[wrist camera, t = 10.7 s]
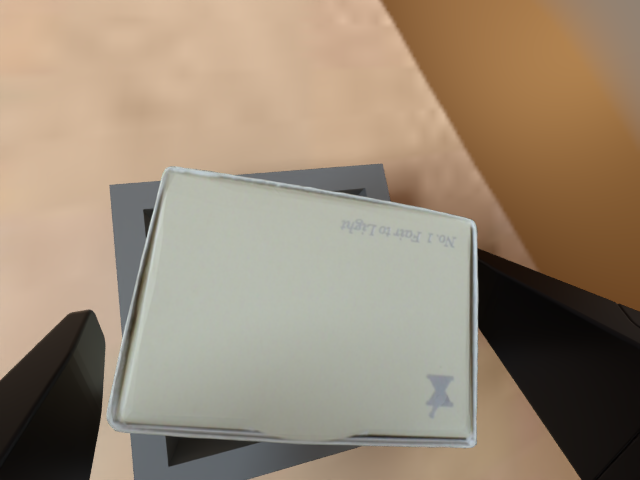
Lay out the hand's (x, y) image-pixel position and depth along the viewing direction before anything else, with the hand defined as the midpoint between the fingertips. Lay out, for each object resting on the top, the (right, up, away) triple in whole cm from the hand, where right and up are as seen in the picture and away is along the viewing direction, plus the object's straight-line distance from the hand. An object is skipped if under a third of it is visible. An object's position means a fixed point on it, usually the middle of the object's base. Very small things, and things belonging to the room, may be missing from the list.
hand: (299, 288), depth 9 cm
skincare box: (-2, -2, +9) cm, 10 cm away
